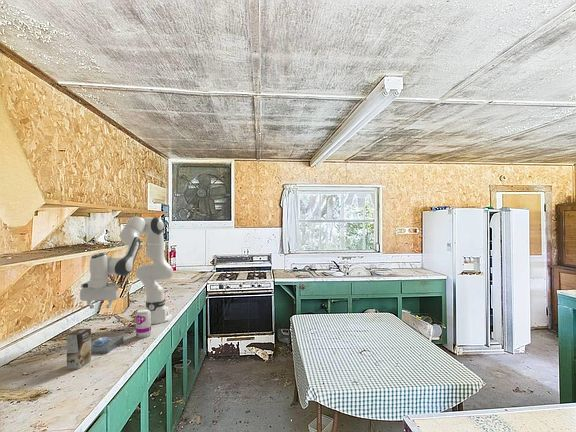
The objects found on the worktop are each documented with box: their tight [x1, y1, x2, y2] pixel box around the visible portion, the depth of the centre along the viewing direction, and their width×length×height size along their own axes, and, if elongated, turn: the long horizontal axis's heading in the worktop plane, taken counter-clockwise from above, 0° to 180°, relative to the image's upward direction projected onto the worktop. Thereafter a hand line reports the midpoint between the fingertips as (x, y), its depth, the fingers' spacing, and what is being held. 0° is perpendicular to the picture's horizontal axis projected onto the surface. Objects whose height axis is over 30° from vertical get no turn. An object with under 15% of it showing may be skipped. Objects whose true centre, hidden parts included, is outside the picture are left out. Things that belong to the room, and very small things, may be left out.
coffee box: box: [66, 328, 92, 370], centre depth 162 cm, size 9×6×16 cm
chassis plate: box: [91, 336, 125, 354], centre depth 184 cm, size 16×14×3 cm
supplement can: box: [135, 308, 152, 339], centre depth 202 cm, size 8×8×15 cm
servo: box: [93, 336, 110, 346], centre depth 183 cm, size 9×4×6 cm, turn 179°
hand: (100, 308), depth 187 cm, fingers open, 8 cm apart
